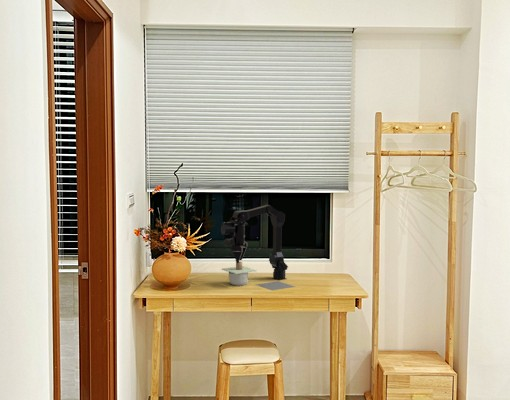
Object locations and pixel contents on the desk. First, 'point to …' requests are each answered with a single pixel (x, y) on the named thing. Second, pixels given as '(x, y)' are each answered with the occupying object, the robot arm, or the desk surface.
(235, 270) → the lid
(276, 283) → the mat
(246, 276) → the teacup
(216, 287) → the desk surface
